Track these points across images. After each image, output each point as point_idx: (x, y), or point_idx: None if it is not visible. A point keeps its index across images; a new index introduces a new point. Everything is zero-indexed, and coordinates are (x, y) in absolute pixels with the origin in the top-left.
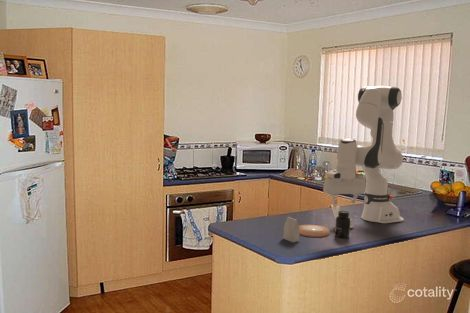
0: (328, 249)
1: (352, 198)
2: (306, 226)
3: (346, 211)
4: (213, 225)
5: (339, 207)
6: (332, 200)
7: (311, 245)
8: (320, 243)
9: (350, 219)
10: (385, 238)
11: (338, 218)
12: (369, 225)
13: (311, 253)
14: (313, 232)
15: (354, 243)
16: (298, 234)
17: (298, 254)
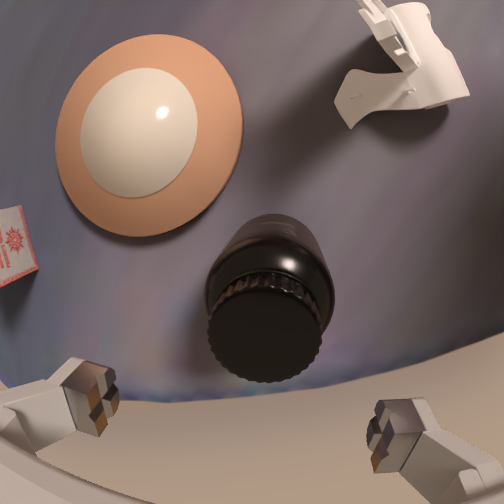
0: None
1: (426, 433)
2: (121, 78)
3: (305, 334)
4: None
5: (392, 40)
6: (58, 371)
7: (69, 334)
8: (107, 327)
9: (458, 89)
10: (467, 342)
11: (210, 314)
12: None
13: None
14: (107, 203)
15: None
16: (15, 279)
17: (27, 383)
